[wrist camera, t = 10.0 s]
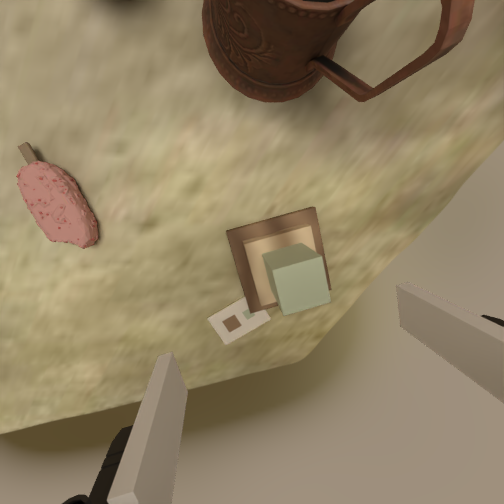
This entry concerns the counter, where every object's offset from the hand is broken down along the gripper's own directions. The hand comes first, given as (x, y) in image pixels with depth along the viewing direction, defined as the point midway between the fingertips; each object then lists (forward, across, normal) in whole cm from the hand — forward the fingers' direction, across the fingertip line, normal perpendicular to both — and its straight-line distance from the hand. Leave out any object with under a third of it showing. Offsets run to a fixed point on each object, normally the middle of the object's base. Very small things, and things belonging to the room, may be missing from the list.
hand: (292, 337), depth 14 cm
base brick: (+27, +5, -4) cm, 27 cm away
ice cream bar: (+28, -23, +13) cm, 38 cm away
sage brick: (+23, +5, -4) cm, 24 cm away
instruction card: (+27, -4, -12) cm, 30 cm away
